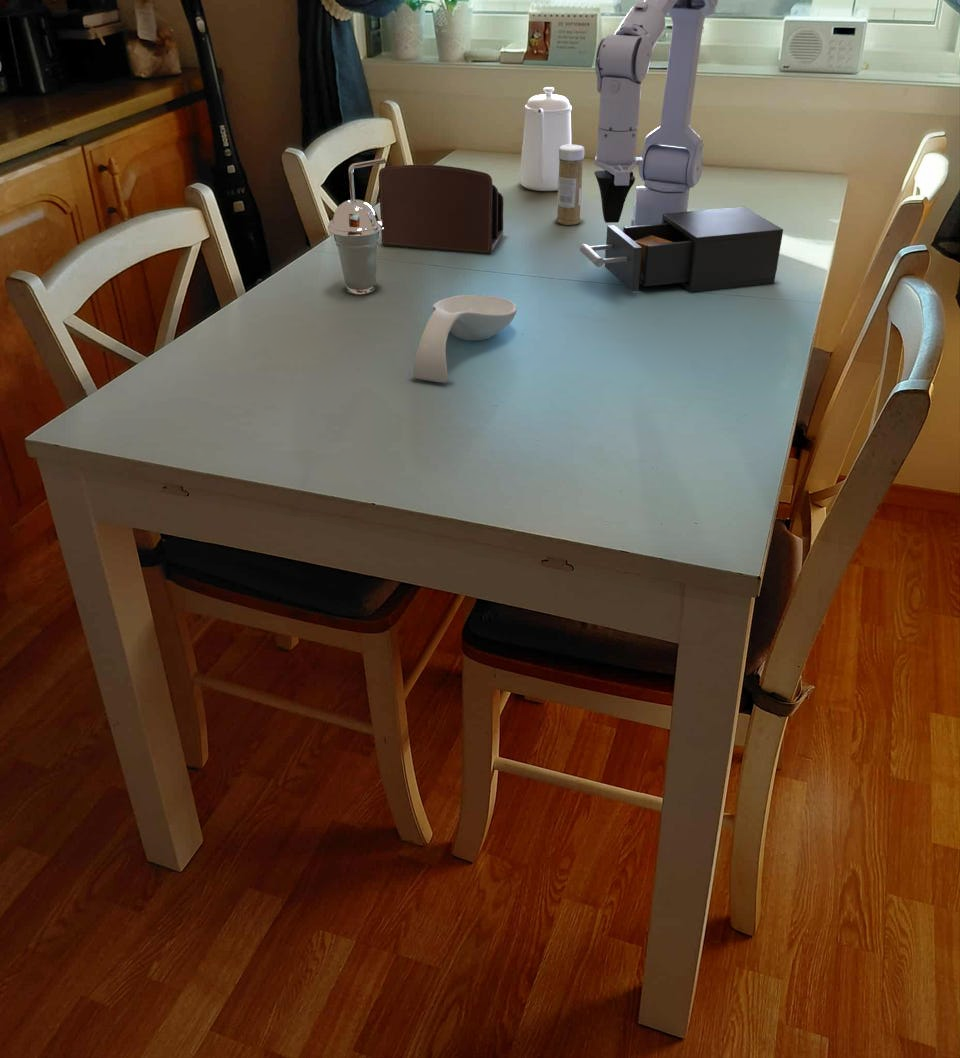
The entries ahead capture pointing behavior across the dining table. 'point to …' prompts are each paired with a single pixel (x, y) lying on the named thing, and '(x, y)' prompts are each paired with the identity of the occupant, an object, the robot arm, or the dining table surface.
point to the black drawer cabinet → (728, 247)
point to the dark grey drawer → (660, 259)
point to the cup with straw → (357, 238)
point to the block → (648, 241)
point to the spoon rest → (459, 329)
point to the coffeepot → (544, 140)
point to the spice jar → (570, 184)
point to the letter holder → (440, 208)
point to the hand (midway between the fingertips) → (611, 221)
